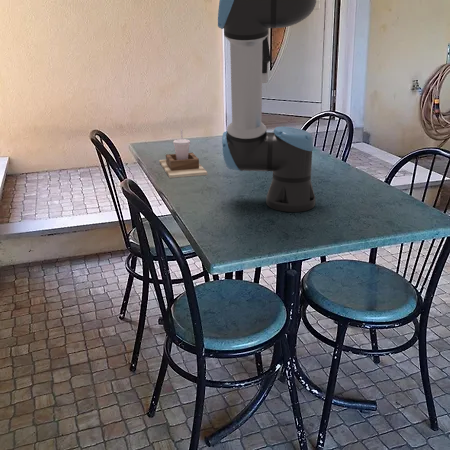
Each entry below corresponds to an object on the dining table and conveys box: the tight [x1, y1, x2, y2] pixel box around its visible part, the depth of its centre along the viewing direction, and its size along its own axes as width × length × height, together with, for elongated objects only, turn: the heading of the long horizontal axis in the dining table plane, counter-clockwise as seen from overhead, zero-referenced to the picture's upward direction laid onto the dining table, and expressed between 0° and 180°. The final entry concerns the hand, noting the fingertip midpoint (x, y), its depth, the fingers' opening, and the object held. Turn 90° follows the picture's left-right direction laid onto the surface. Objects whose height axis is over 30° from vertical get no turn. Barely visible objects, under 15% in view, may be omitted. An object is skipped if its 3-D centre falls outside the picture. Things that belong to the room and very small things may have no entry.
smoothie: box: [172, 128, 191, 160], centre depth 198 cm, size 6×6×14 cm
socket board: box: [159, 152, 208, 179], centre depth 201 cm, size 22×14×4 cm, turn 16°
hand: (255, 81), depth 187 cm, fingers open, 13 cm apart
